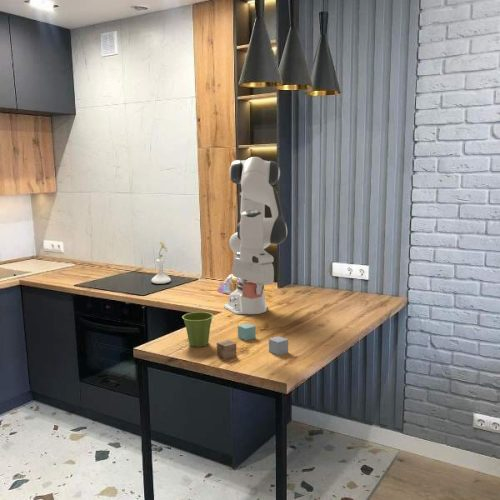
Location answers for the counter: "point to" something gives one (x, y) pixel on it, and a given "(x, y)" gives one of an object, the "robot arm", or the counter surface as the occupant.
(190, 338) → the plant pot
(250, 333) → the muted teal block
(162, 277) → the flower in vase
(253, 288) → the brick-red block
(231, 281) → the candy landscape model
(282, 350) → the slate grey block
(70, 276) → the counter surface
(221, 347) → the walnut block
